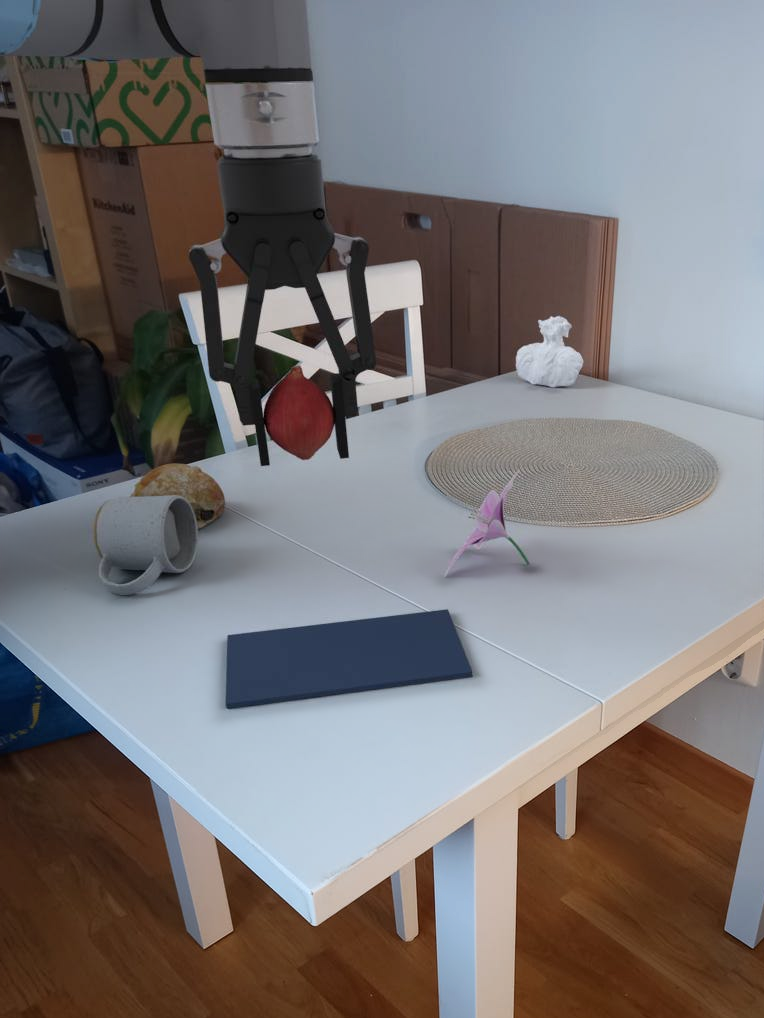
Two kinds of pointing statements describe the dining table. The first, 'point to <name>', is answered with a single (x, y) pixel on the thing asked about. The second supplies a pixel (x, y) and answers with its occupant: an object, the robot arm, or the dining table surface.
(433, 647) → the board
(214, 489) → the bread roll
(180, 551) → the ceramic mug
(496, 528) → the lily
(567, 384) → the bust
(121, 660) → the dining table surface
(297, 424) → the onion
